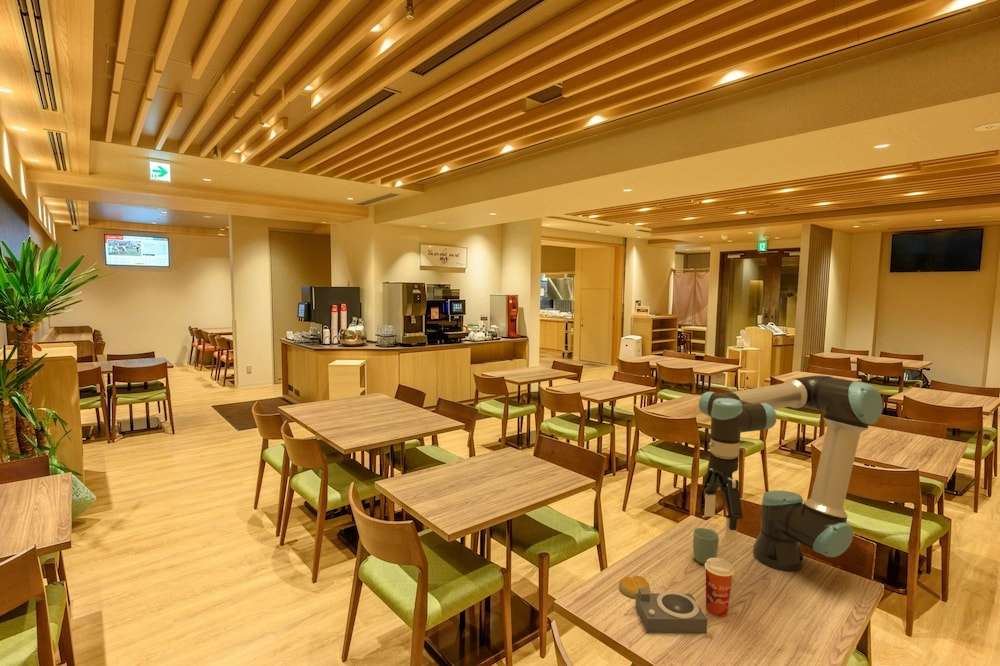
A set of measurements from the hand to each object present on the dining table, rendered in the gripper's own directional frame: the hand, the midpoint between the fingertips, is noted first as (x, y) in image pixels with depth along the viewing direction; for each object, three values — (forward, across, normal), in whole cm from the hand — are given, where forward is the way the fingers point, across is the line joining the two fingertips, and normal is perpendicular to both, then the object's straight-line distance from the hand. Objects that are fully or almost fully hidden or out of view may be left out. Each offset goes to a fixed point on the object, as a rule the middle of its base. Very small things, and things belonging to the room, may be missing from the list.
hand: (719, 527), depth 141 cm
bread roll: (+25, -8, -21) cm, 33 cm away
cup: (+25, -25, +7) cm, 36 cm away
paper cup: (+25, 0, 0) cm, 25 cm away
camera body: (+25, +5, -14) cm, 29 cm away
